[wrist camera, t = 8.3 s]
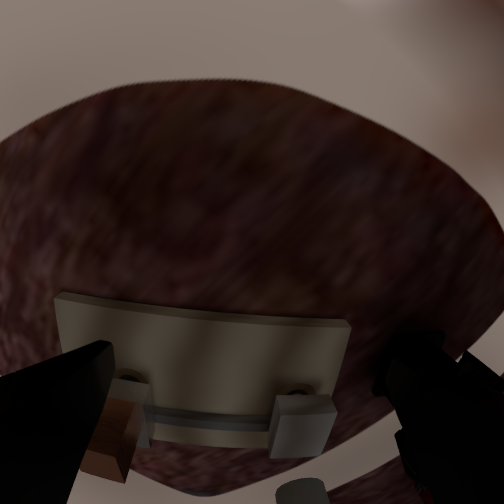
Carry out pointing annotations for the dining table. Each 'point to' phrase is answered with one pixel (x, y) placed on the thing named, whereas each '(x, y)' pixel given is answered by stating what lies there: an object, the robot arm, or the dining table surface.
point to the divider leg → (120, 430)
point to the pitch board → (220, 370)
